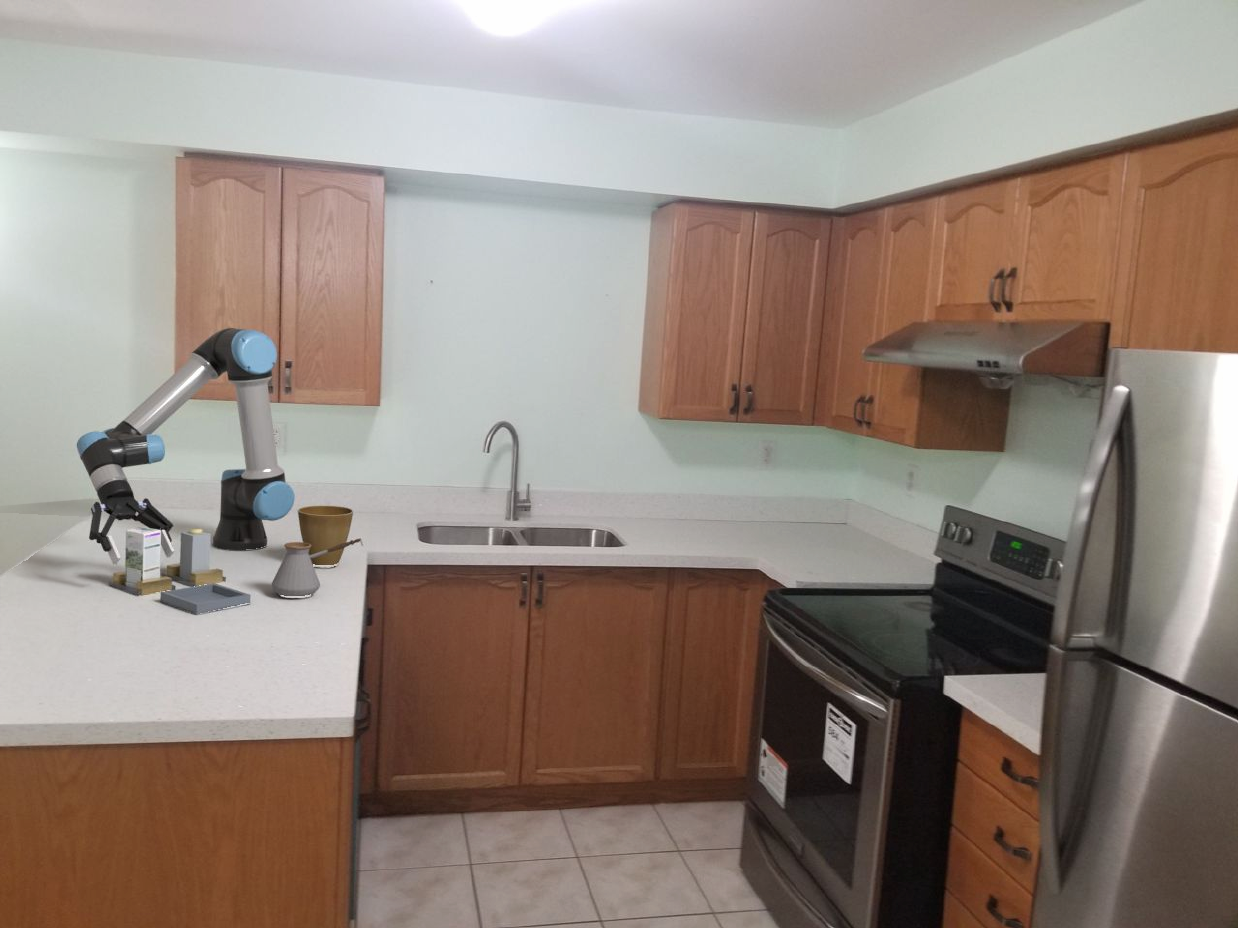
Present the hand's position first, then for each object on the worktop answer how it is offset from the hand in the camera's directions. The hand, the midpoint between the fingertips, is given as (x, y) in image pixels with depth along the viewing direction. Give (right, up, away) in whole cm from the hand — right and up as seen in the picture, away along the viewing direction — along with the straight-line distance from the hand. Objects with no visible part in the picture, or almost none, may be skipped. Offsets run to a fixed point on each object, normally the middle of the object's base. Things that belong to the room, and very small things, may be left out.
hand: (144, 557), depth 239 cm
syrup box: (-2, -8, +2) cm, 8 cm away
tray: (+18, -10, -7) cm, 21 cm away
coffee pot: (+39, -10, +8) cm, 41 cm away
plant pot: (+31, -6, +40) cm, 51 cm away
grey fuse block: (+6, -7, +14) cm, 16 cm away
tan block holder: (-2, -7, +2) cm, 8 cm away
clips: (+6, -7, +14) cm, 16 cm away
